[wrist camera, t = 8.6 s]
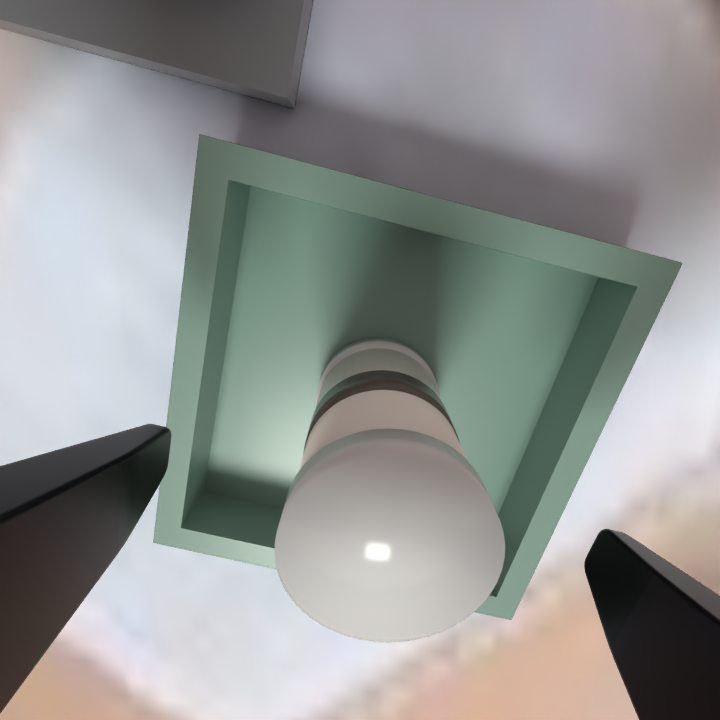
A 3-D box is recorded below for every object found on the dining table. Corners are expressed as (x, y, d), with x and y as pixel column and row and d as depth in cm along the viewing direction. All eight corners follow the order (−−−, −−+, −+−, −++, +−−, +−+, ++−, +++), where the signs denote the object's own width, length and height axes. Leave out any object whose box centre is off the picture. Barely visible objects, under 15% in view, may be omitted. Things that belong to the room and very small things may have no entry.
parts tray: (186, 494, 16) (153, 542, 13) (233, 152, 12) (199, 134, 10) (490, 562, 16) (511, 619, 14) (624, 255, 13) (682, 263, 10)
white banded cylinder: (307, 430, 14) (255, 617, 7) (334, 323, 13) (302, 430, 6) (415, 456, 14) (459, 660, 8) (451, 354, 13) (541, 488, 6)
